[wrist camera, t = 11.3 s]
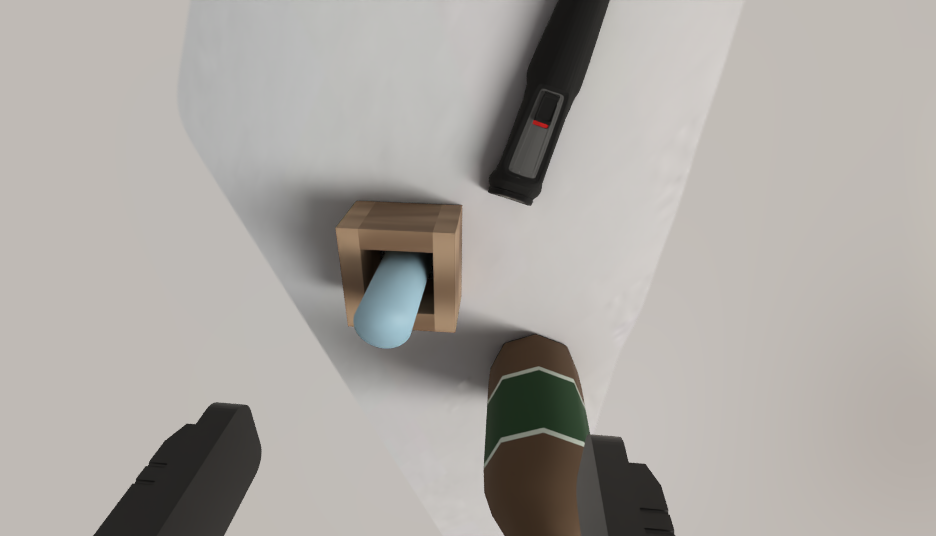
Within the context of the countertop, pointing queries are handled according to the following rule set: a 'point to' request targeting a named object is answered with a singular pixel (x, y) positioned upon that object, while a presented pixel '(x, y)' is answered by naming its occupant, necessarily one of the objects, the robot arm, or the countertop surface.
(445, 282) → the socket block
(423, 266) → the peg
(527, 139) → the electric trimmer
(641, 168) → the countertop surface
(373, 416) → the countertop surface
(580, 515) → the robot arm
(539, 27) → the countertop surface
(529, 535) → the beer bottle
